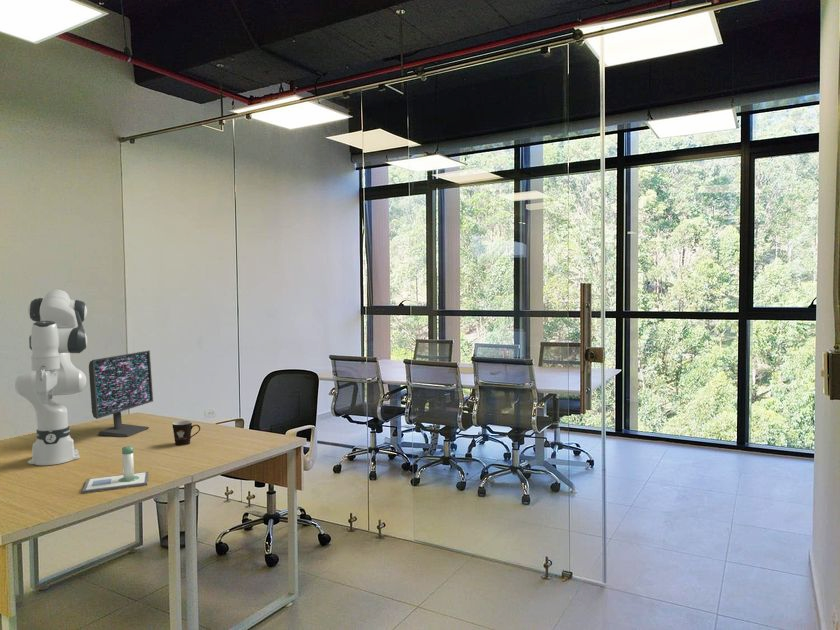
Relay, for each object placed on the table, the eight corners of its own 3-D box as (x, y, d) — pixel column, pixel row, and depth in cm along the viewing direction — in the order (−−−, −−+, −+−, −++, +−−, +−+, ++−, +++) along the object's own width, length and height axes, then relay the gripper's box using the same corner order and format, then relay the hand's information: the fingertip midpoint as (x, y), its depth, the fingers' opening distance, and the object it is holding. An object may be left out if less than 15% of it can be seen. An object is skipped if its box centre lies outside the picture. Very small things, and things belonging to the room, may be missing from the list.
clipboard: (87, 480, 219) (87, 478, 219) (148, 473, 227) (148, 471, 227) (82, 493, 205) (82, 490, 205) (147, 485, 213) (147, 482, 213)
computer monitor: (109, 444, 272) (106, 360, 271) (78, 442, 275) (75, 359, 273) (163, 423, 315) (162, 350, 314) (137, 422, 318) (134, 350, 316)
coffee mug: (168, 445, 269) (168, 424, 268) (181, 440, 277) (180, 420, 277) (189, 447, 266) (189, 425, 265) (201, 442, 274) (201, 421, 274)
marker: (123, 478, 219) (122, 446, 218) (134, 476, 220) (133, 445, 220) (122, 481, 215) (121, 449, 215) (134, 479, 217) (133, 448, 216)
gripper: (50, 367, 206) (52, 405, 206) (60, 361, 224) (61, 396, 225) (29, 368, 203) (31, 407, 204) (41, 362, 222) (42, 397, 222)
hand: (47, 401), depth 214 cm, fingers open, 8 cm apart
